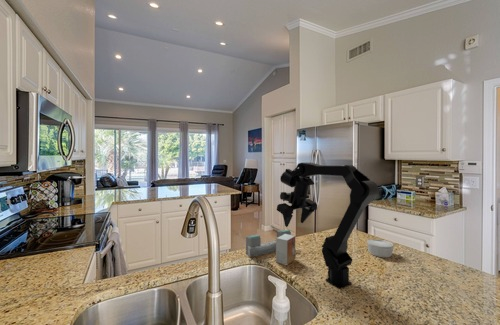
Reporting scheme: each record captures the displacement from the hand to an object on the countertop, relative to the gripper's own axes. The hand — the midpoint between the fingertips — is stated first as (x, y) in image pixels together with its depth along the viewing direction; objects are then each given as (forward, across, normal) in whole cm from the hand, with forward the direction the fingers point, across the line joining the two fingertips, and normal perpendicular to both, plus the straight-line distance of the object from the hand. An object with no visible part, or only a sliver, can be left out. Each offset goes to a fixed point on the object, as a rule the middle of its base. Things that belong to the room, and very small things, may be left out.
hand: (294, 224), depth 103 cm
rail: (+19, +2, -9) cm, 21 cm away
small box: (+16, +3, +2) cm, 16 cm away
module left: (+19, +11, -11) cm, 25 cm away
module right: (+20, -7, -10) cm, 23 cm away
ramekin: (+12, -39, +20) cm, 46 cm away
